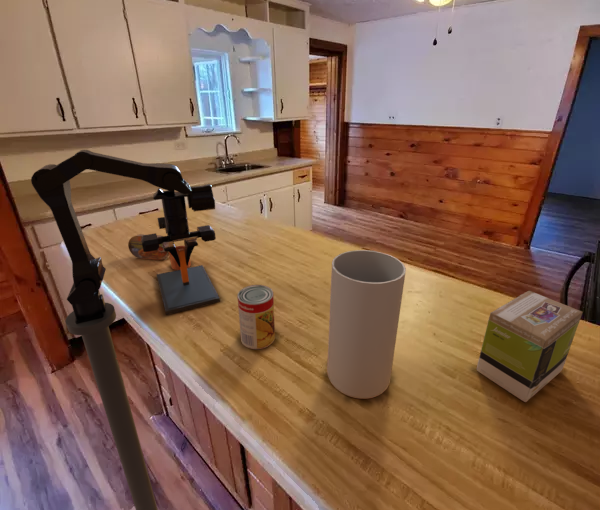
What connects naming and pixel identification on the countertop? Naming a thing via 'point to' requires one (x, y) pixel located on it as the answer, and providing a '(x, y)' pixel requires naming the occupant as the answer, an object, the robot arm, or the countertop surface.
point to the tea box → (527, 343)
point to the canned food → (256, 316)
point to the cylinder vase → (363, 321)
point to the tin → (138, 252)
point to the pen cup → (173, 261)
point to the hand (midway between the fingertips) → (183, 265)
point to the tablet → (186, 290)
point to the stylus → (183, 266)
